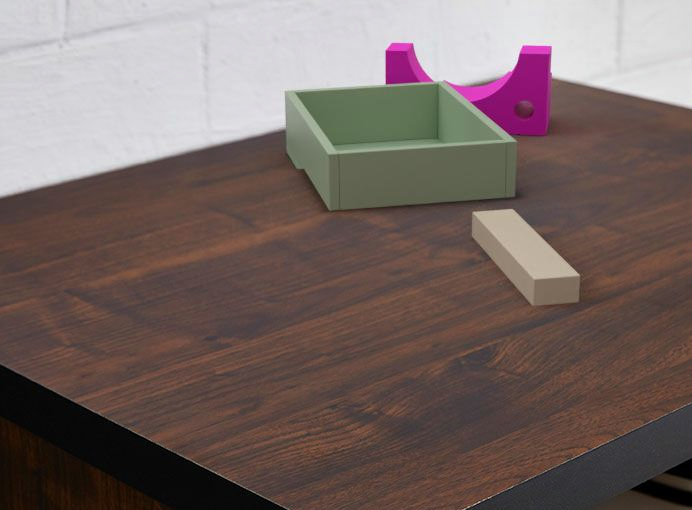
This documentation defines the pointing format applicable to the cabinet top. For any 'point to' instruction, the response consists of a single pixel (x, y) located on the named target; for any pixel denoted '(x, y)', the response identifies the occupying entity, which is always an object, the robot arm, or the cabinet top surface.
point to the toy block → (492, 87)
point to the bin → (397, 145)
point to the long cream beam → (525, 258)
